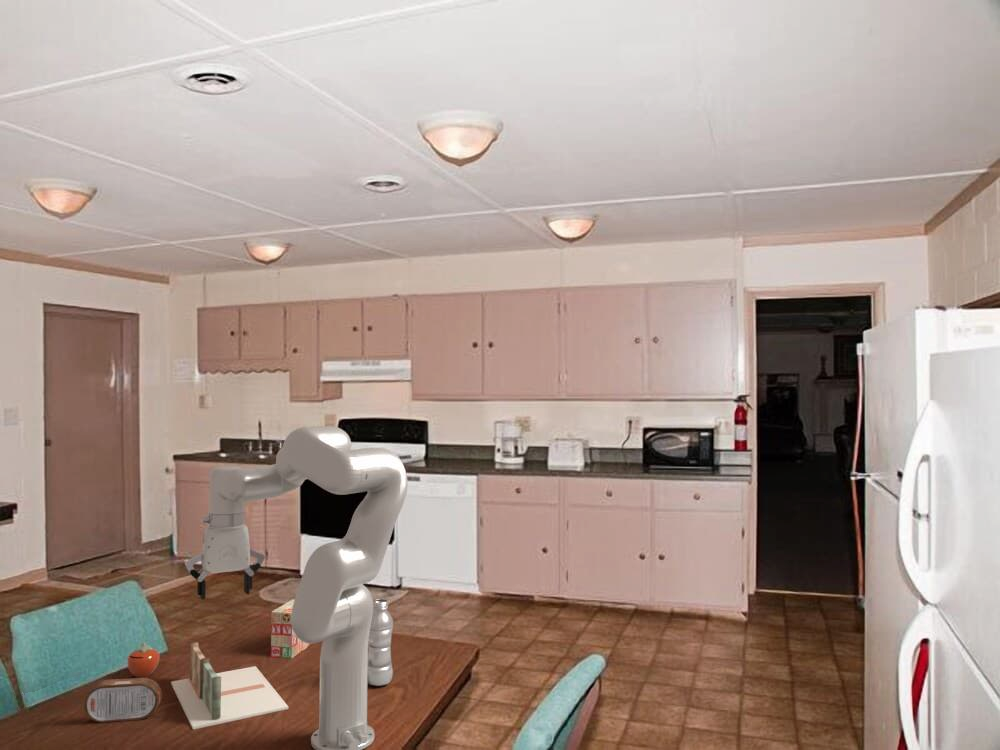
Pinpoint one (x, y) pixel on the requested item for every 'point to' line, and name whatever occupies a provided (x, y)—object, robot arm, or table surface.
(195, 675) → the fixed fence
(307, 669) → the table surface
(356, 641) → the robot arm
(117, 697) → the tin
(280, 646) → the stack of blocks
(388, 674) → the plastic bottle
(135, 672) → the tomato
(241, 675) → the card
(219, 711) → the swing panel
